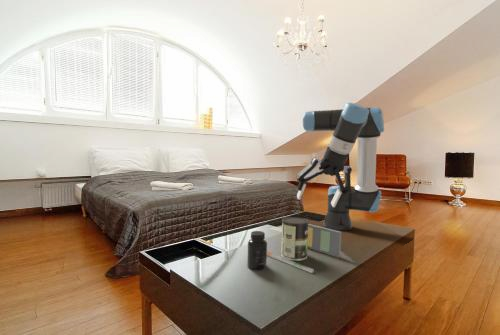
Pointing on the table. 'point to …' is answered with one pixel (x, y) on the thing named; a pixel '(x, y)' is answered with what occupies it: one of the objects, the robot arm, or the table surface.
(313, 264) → the table surface
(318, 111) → the robot arm
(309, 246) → the panel board
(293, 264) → the front rail
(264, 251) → the supplement bottle
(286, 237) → the coffee can
